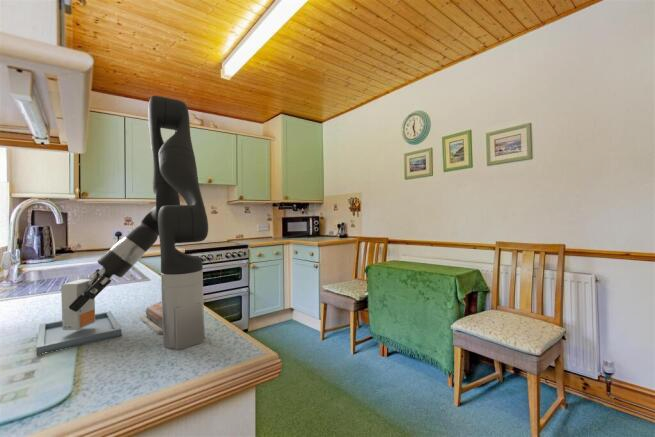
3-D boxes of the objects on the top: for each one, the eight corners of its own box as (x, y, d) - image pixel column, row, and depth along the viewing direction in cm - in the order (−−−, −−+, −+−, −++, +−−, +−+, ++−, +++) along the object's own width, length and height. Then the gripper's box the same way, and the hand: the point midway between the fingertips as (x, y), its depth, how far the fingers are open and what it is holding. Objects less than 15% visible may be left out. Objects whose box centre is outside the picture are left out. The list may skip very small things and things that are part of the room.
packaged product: (196, 309, 87) (158, 318, 80) (197, 326, 87) (158, 336, 80) (173, 297, 100) (138, 304, 93) (174, 312, 100) (139, 320, 93)
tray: (121, 335, 80) (121, 328, 80) (36, 355, 70) (36, 347, 70) (110, 316, 95) (110, 311, 95) (39, 330, 85) (39, 324, 85)
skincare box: (78, 330, 80) (76, 284, 79) (62, 330, 80) (59, 284, 79) (96, 322, 86) (94, 278, 85) (81, 322, 86) (79, 279, 85)
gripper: (107, 246, 92) (57, 293, 85) (114, 250, 82) (57, 304, 74) (129, 262, 96) (82, 308, 89) (138, 267, 85) (86, 320, 78)
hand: (71, 306), depth 81 cm, fingers closed on skincare box, 7 cm apart
